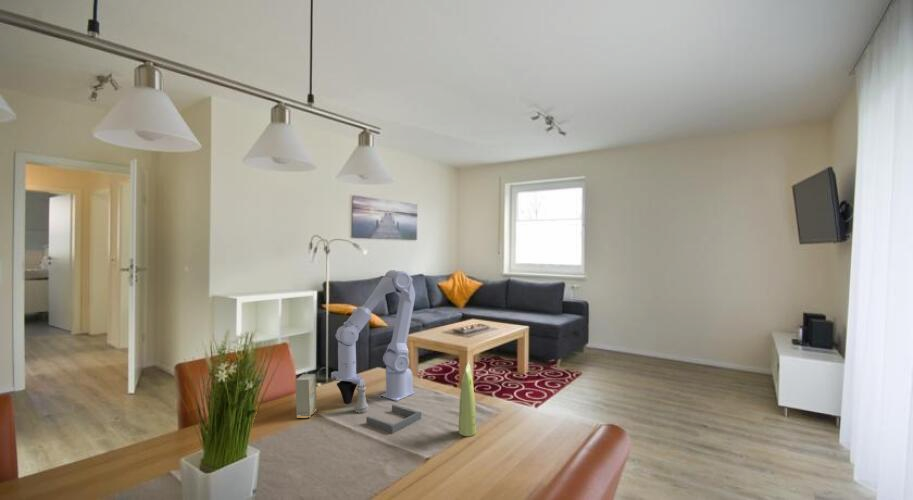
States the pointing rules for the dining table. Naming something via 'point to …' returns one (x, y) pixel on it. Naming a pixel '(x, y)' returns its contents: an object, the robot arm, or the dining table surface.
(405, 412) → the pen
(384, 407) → the dining table surface
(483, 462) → the dining table surface
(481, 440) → the dining table surface
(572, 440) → the dining table surface
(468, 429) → the light green tall cone
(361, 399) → the rook chess piece
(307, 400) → the skincare box
